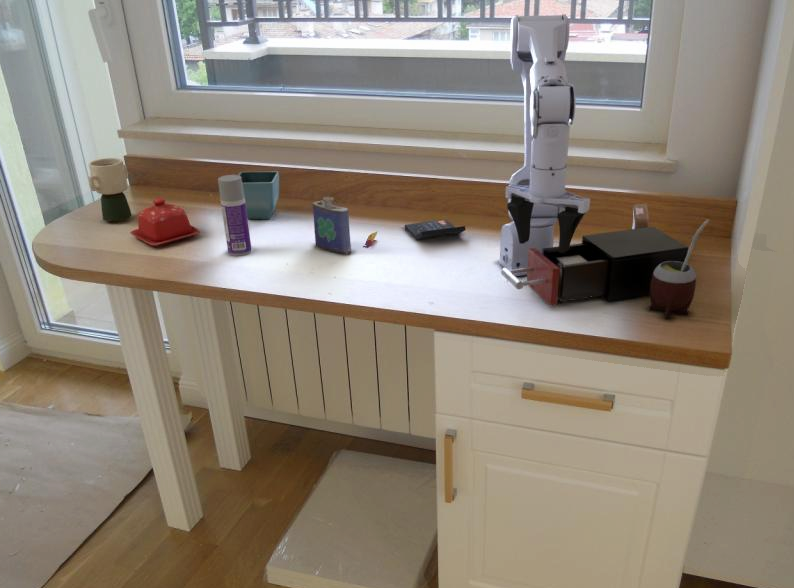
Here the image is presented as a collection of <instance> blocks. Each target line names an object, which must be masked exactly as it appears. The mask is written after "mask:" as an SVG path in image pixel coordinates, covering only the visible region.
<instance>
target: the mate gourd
mask: <svg viewBox="0 0 794 588" xmlns="http://www.w3.org/2000/svg"><path fill="white" fill-rule="evenodd" d="M710 221H711V219H709V218H707V219H705V221H704V222H703V223H702V224H701V225H700V226H699V227H698V229H697V230H696V232H695V234H693V236H692V238H691V243H690V246H689V247H688V253H687V256H686V258H685V261H684V263H683V262H678V261H667V262H663V263H661V264H659V265H658V266H657V267H656V269H655V270H654V273H653V275H652V278H651V283H650V296H649V299H650V306H649V311H652V312H660V313H664V320H670V319H671V315H672V314H673V315H674V314H675V315H683V316H688V315H689V313H690V310H689V308H690V306H691V304H692V302H693V300H694V296H695V290H696V286H697V285H696V284H697V275H696V272H695V270H694V268H693V267H692V266H691V265H690V264H688V263H689V260H690V258H691V255H692V252H693V249H694V247H695V244H696V243H697V242H698V239H699V237H700V236H699V235H700V234H701V232H702V231H703V230H704V228H705V227H706V226H707V225H708V224H709V222H710Z"/></svg>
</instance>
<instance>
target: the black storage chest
mask: <svg viewBox="0 0 794 588" xmlns="http://www.w3.org/2000/svg"><path fill="white" fill-rule="evenodd" d="M581 238H582V239H581V243H589V244H590V245H592V246H593V247H594V248H596V249H597V250H599V251H600V252H601V253H603V254H604V255H606V256H607V257H608V258H610V259H611V260H612V262H611V271H610V281H609V290H608V295H602V296H600V297H601V298H602V299H603V300H604V301H606V302H607V303H616V302H622V301H623V302H624V301H629V300H636V299H641V298H642V299H643V298H647V297H649V298H650V283H651V278H652V275H653V273H654V270H655V269H656V267H657V266H658V265H659V264H661V263H663V262H667V261H678V262H683V263H684V261H685V258H686V256H687V253H688V251H689V246H687V245H685V244H684V243H683V242H680V241H679V240H677V239H676V238H674V237H672V236H670V235H668V234H667V233H665V232H663V231H662V230H660V229H658V228H657V227H655V226H649V227H646V228H638V229H632V228H631V229H624V230H623V229H622V230H616V231H609V232H602V233H593V234H587V235H582V237H581Z"/></svg>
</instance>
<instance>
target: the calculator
mask: <svg viewBox="0 0 794 588" xmlns="http://www.w3.org/2000/svg"><path fill="white" fill-rule="evenodd" d="M404 229H405V230H406V232H407V233H408V234H410V235H411V237H412V238H413V239H414V240H415V241H417V240H426V239H432V238H440V237H447V236H454V235H459V234H461V233H463V232H464V231H466V226H465V225H461V226H454V225H453V224H452V223H451V222H450V221H449V220H447V219H439V220H438V219H437V220H430V221H423V222H416V223H407V224H404Z"/></svg>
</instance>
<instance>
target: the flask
mask: <svg viewBox="0 0 794 588" xmlns="http://www.w3.org/2000/svg"><path fill="white" fill-rule="evenodd" d="M334 200H335V198H334V197H333V196H330V197H329V196H325V197H323V199H321V200H320V201H314V202H313V203H312V214H313V226H314V227H313V229H314V241H315V242H314V243H315V244H314V245H315V247H316V248H318V249H320V250H322V251H328V252H331V253H335V254H338V255H349V254H350V253H352V243H351V232H350V213H349V208H348V207H342V206H337V205H333V204H334Z"/></svg>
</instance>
